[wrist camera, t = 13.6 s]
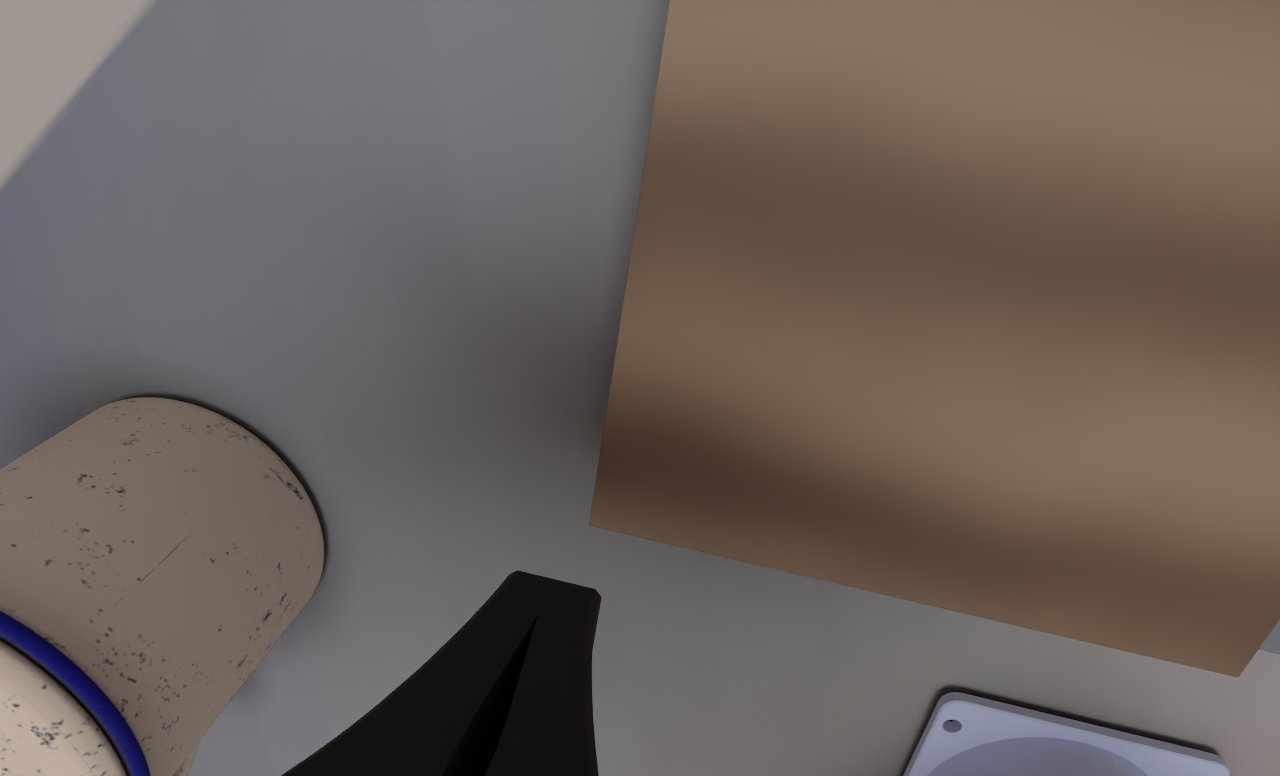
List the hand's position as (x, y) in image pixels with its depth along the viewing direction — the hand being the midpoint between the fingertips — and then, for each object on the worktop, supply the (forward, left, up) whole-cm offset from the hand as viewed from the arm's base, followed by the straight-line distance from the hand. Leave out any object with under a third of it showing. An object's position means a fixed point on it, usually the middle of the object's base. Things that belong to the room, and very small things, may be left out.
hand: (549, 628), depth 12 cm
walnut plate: (+5, -7, -9) cm, 13 cm away
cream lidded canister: (-10, +13, -10) cm, 19 cm away
